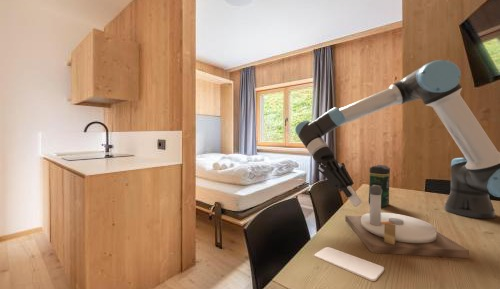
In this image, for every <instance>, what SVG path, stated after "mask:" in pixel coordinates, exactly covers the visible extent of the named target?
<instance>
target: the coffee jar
mask: <svg viewBox="0 0 500 289" xmlns="http://www.w3.org/2000/svg"><path fill="white" fill-rule="evenodd" d="M368 174H369V183H368V184H369V187H368V189H369V188H370V187H371V186H372V185H378V186H380V187H381V189H382V194H381V207H383V208H385V207H388V206H389V205H390V176H391V168H390V167H389V166H387V165H384V164H377V165H373V166H371V167H369V172H368ZM368 205H370V192H369V191H368Z"/></svg>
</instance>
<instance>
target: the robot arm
mask: <svg viewBox="0 0 500 289" xmlns="http://www.w3.org/2000/svg"><path fill="white" fill-rule="evenodd" d="M461 77H462V73H461V69H460V68H459V66H458V65H457V64H456V63H454V62H452V61H451V60H448V59H447V60H446V59H444V60H443V59H438V60H436V59H435V60H433V61H431V62H428V63H425V64H424V65H422V66H421V67H419V68H418V69H416V70H414V71H413V72H410V73H409V74H408V75H406V76H405V77H403V78H401V79H400V80H399V81H397V82H394V83H392V84H390V85H389V86H388V88H386V89H384V90H381V91H378V92H376V93H374V94H372V95H370V96H367V97H364V98H362V99H360V100H357V101H355V102H353V103H350V104H348V105H346V106H343V107H340V108H338V107H336V106H334V107H333V108H331V109H328V111H326V112H325V113H323V114H322V115H320V116H319V117H317V118H316V119H315V120H313V121H310V120H307V119H306V120H303V121H300V122H299V123H298V124H297V125H296V127H295V134H296V135H297V136H298V139H299V140H300V141H301V143H302V144H303V145H304V147H305V149H306V150H307V151H308V152H309V154H310V155H311V157H312V158H313V161H314V162H315V163H316V165H317V166H319V167H317V169H316V170H317V171H318V172H319V173H321V174H322V175H323V176H324V177H325V178H326V179H327V181H328V182H329V183H330V185H332V186H333V187H334V189H335V190H338V191H339V192H343V194H344V195H345V197H347V199H348V200H349V201H350V203H351V205H352V206H353V207H354V208H355V207H356V208H357V207H358V206H360V205H361V204H363V200H362V199H361V198H360V197H359V195H358V194H357V192H356V191H355V189H354V188H353V187H352V186H353V185H354V181H353V179H352V177H351V176H350V174H349V172H348V170H347V168H346V165H345V163H344V162H342V163H339V161H338V160H337V159H336V158H335V153H334V151H333V149H331V148H330V147H329V145H328V143H327V142H326V141H325V140H324V139H323V137H324V136H325V135H327V134H329V133H330V132H332V131H333V130H335V129H337V128H339V127H341V126H344V125H347V124H348V123H351V122H355V121H356V120H359V119H362V118H364V117H366V116H369V115H371V114H374V113H376V112H379V111H382V110H384V109H387V108H389V107H391V106H394V105H397V106H401V105H403V104H406V103H409V102H412V101H413V102H414V101H417V100H421V102H422V103H423V104H424V105H425V106H426V107H427V106H428V107H431V108H432V109H433V111H434V112H435V113H436V115H437V117H438V118H439V119H440V121H441V123H442V124H443V126H444V127H445V128H446V131H447V132H448V133H449V135H450V136H451V138H452V139H453V141H454V142H455V144H456V146H457V147H458V149H459V151H460V152H461V153H462V154H463V156H464V157H455V158H453V159H452V160H451V163H450V191H449V192H450V193H449V194H448V196H447V199H446V202H445V204H444V210H446V211H447V212H448V213H449V212H450V213H452V214H455V215H459V216H462V217H463V216H464V217H467V218H468V217H469V218H475V219H487V220H489V219H495V218H496V210H495V209H494V206H493V203H492V201H491V199H490V196H493V197H496V198H500V151H498V149H497V148H496V146H495V145H494V143H493V142H492V141H491V139H490V137H489V135H488V134H487V133H486V131H485V130H484V128H483V126H481V124H480V122H479V121H478V119H477V118H476V116H475V115H474V113H473V112H472V110H471V109H470V108H469V106H468V104H467V103H466V101H465V100H464V99H463V97H462V95H461V92H462V90H463V87H462V85H461V84H460V81H461Z"/></svg>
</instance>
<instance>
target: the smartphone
mask: <svg viewBox="0 0 500 289" xmlns="http://www.w3.org/2000/svg"><path fill="white" fill-rule="evenodd" d="M314 257H315V258H317V259H319V260H322V261H324V262H327V263H329V264H331V265H334V266H336V267H338V268H341V269H343V270H345V271H347V272H349V273H352V274H354V275H357V276H359V277H362V278H363V279H366V280H368V281H371V282H375V281H377V280H378V279H379V277H380V276H381V275H382V274H383V272H384V271H385V267H384V266H382V265H379V264H377V263H374V262H373V261H372V262H371V261H369V260H366V259H363V258H360V257H358V256H355V255H352V254H350V253H346V252H343V251H341V250H338V249H335V248H333V247H329V246H326V247H323V248H322V249H320V250H318V251H317V252H316V253H315V254H314Z"/></svg>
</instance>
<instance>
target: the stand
mask: <svg viewBox="0 0 500 289" xmlns="http://www.w3.org/2000/svg"><path fill="white" fill-rule="evenodd" d="M361 216H362V215H345V218H344V219H345V222H346V223H347V225H348V226H349V227H350V228H351V229H352V230H353V232H354V233H355V234H356V236H357V237H358V238H359V239H360V240H361V241H362V243H363V244H364V245H365V247H366V248H367V249H368V251H369V252H371V253H372V254H373V253H376V254H377V253H378V254H389V255H390V254H394V255H408V256H409V255H411V256H426V257H443V258H444V257H445V258H446V257H447V258H458V259H459V258H462V259H463V258H465V259H469V258H470V250H469V249H467V248H466V247H464V246H462V245H460V244H459V243H457V242H456V241H454V240H452V239H450V238H449V237H447V236H445V235H443V234H442V233H440V232H438V231H437V234H436V240H435V241H433V242H429V243H407V242H400V241H395V226H396V225H393V224H388V223H385V228H384V238H383V237H380V236H378V235H375V234H373V233H371V232H369V231H367V230H365V229H364V228H363V227H362V225H361Z"/></svg>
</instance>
